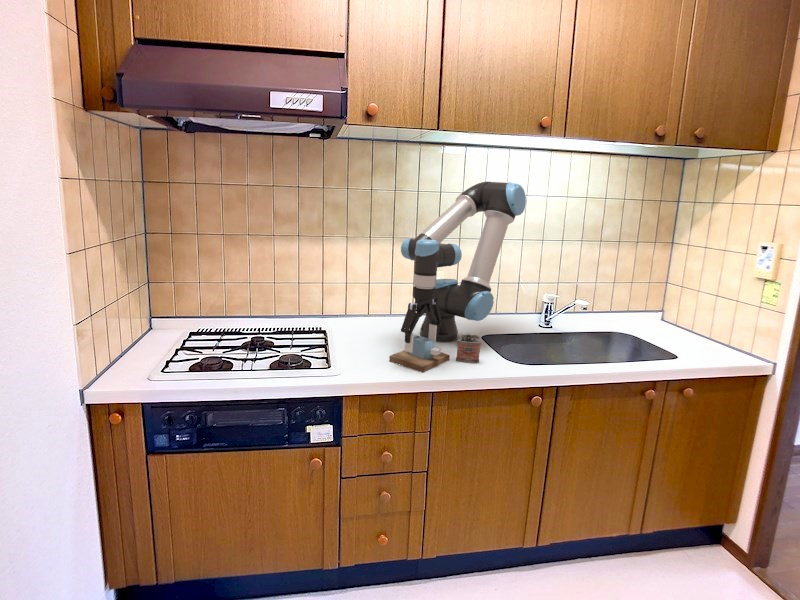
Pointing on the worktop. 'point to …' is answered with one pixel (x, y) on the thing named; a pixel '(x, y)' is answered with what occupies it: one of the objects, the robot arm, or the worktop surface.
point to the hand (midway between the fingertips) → (420, 347)
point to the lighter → (468, 349)
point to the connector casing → (424, 348)
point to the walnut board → (418, 361)
